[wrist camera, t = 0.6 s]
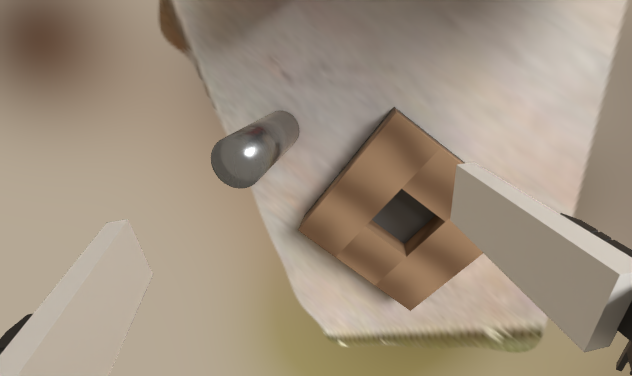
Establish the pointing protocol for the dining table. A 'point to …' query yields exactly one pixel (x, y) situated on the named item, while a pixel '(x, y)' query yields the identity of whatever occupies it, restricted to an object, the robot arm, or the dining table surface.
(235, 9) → the dining table surface
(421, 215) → the socket block
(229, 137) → the steel pin
